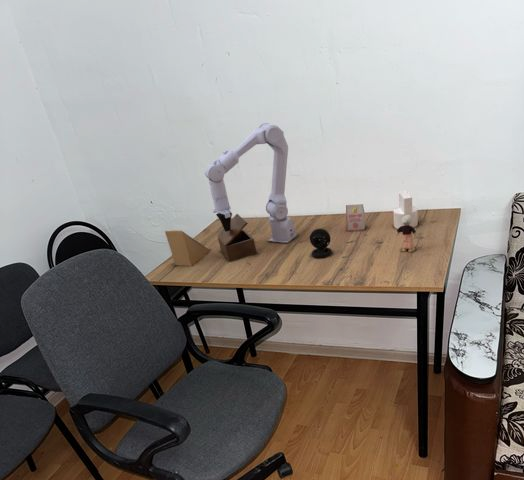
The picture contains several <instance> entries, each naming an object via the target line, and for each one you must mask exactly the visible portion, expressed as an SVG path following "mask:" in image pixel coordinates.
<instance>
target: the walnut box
mask: <svg viewBox="0 0 524 480" xmlns="http://www.w3.org/2000/svg"><path fill="white" fill-rule="evenodd" d="M217 241H218V244H219V248H220V251H221V253H222V254H223V255H224V257H225V258H226V259H227V261H228V262H229V263H230V262H233V261H236V260H240V259H243V258H247V257H249V256H253V255H255V254H257V248H256V244H255V238H254V237H252V236H251V234H250V233H248V232H247V230H245V229H244V228H243V229H242V230H241V231H240V232H239V234H238V235H237V236H236V237H235V238H234V239H233V240H232V241H231V242H230V243H229V244H228V245H227V246H225V245H224V244H223V242H222V241H221V240H220V239H219V237H218V236H217Z"/></svg>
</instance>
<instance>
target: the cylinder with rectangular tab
mask: <svg viewBox="0 0 524 480" xmlns="http://www.w3.org/2000/svg"><path fill="white" fill-rule="evenodd" d="M418 212H419V209H418V207H417V206H414V205H413V196H412V195H411V194H410V193H409V191H407V190H403V191H398V207H396V208H394V209H393V227H394V228H395V229H396V230H397V229H398V228H399V227H401V226H405V225H404V224H403V223H402V222H401V221H402V218H403V217H404V216H406V215H410V216H411V223H410V226H412V227H413V228H414V229H415V228H416V227H417V226H418V223H419V222H418V221H419V218H418V217H419V213H418Z"/></svg>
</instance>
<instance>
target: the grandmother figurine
mask: <svg viewBox="0 0 524 480" xmlns="http://www.w3.org/2000/svg"><path fill="white" fill-rule="evenodd" d="M401 222H402V223H403V224H404V225H405V226H401V227H399V228H398V229H397V228H396V233H395V236H400V235H399V234H401V246H402V247H401V248H402V249H401V252H409V253H412V252H414V251H416V248H415V247H414V242H413V241H414V239H413V236H414V238H418V234H417V230H416V229H415V227H414V228H413V227H412V226H410V223H411V216H410V215H406V216H404V217H403V218H402V221H401Z"/></svg>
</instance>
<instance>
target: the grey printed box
mask: <svg viewBox="0 0 524 480" xmlns="http://www.w3.org/2000/svg"><path fill="white" fill-rule="evenodd" d="M364 208H365V207H364V204H362V203H358V204H346V205H345V221H346V222H345V223H346V224H345V225H346V231H347V232H353V231H354V232H355V231H358V232H359V231H365V229H366V214H365V209H364Z"/></svg>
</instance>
